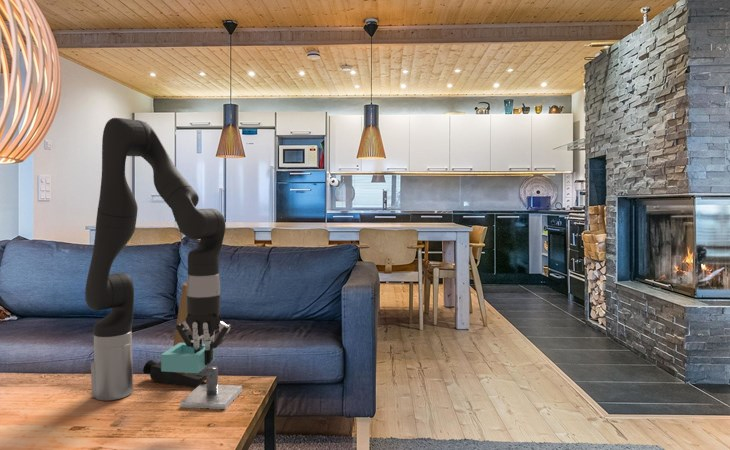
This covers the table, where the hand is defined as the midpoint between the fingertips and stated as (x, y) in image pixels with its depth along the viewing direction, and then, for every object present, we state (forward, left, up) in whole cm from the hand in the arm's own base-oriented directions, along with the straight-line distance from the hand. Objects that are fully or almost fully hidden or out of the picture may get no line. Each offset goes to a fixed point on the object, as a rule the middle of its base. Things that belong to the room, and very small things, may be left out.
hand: (204, 363), depth 116 cm
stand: (-4, +13, -14) cm, 20 cm away
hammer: (-19, +23, -15) cm, 33 cm away
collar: (-4, 0, -1) cm, 4 cm away
